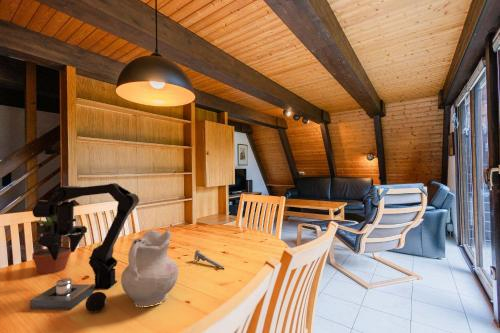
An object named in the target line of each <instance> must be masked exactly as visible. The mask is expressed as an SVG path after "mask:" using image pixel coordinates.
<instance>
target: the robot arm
mask: <svg viewBox="0 0 500 333" xmlns="http://www.w3.org/2000/svg"><path fill="white" fill-rule="evenodd" d="M101 194H102V195H104V194H109V195H110V196H111V197H112V199H114V201H116V202H117V206H116V214H115V217H114V219H113V221H112V223H111V225H110V227H109V229H108V231H107V233H106V234H105V237H104V239H103V241H102V243H101V244H99V245H98V246H97V247H94V248H93V250H92V251H91V255H90V256H89V257H88V260H89V262H88V264H89V266H90V267H91V269H92V272H93V274H94V289H98V290H100V289H103V290H104V289H105V290H108V289H110V288H112V287H113V286H114V285H116V283H117V282H118V280H116V268H115V267H116V266H117V264H118V262H119V261H118V260H117V259H116V258H115V257H114V256H113V253H114V246H115V244H116V243H117V240H118V238H119V236H120V233H121V232H122V229H123V227H124V225H125V223H126V222H127V219H128V218H129V215H130V214H132V212H133V211H134V210H135V209H136V207H137V205H139V202H140V197H139V196H138V195H137V194H136V193H132V192H130V191H129V190H127V189H126V188H123V187H122V186H121V185H120V184H118V183H115V182H114V183H108V184H97V185H89V186H80V185H79V186H78V185H77V186H76V185H66V186H65V185H64V186H58V187H55V189H54V191H53V194H52V195H51V196H50V197H49V199H48V200H44V199H42V200H37V201H36V204H35V205H34V207H33V209H32V216H33V217H34V218H45V217H54V216H55V215H56V220H54V221H53V222H52V225H50V226H46V225H42V224H40V225H38V226H37V234H39V235H41V236H40V237H38V238H37V244H41V245H42V246H41V247H44V246H45V247H46V248H48V250H49V252H50V254H51V256H52V258H53V260H57V257H58V254H59V250H60V247H61V246H62V244H63V243H62V239H64V238H65V237H68V239H70V240H69V244H70V246H69V247H71V253H75V251H76V249H77V248H78V245H79V244H80V242H81V240H82V239H83V238H84V237H83V236H85V234H86V233H88V228H87V226H85V225H74V222H76V221H77V218H74V209H75V208H74V207H77V206H80V205H81V204H80V203H79V202H78V201H76V199H77V198H81V197H83V196H84V197H85V196H93V195H94V196H95V195H101Z"/></svg>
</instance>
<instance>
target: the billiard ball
mask: <svg viewBox="0 0 500 333" xmlns="http://www.w3.org/2000/svg"><path fill="white" fill-rule="evenodd" d="M107 301H108V299H107V295H106V294H105V292H102V291H96V292H93V293H92V294H91V295H90V296H88V297H87V298H86V300H85V308H86V311H88V312H90V313H97V312H100V311H101V310H103V309H104V307H105V306H106V304H107Z"/></svg>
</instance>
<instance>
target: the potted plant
mask: <svg viewBox="0 0 500 333" xmlns="http://www.w3.org/2000/svg"><path fill="white" fill-rule="evenodd" d="M44 218H45V220H38V221H37V220H36V222H37V223H39V224H40V225H46V226H50V225H52V222H53V221H54V220H56V215H55V216H54V217H44ZM61 242H62V243H61V244H63V243H66V242H70V238H68V239H65V240H63V241H62V240H61ZM35 245H37V246H41V247H45V246H42V245H41V244H38V243H35ZM70 254H72V252H71V247H70V246H64V245H63V246H62V245H61V247H60V250H59V254H58V257H57V260H53V258H52V256H51V254H50V252H49V250H48V248H47V247H46V248H42V249H38V250H37V251H34V252H33V253H32V254H31V255H32V259H31V260H33V261H34V265H35V268H36V270H37V273H38V275H51V274H56V273H59V272H61V271H64V270H65V269H66V267H67V264H68V261H69V258H70Z"/></svg>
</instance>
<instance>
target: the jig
mask: <svg viewBox="0 0 500 333" xmlns="http://www.w3.org/2000/svg"><path fill="white" fill-rule="evenodd" d="M94 286H95V283H90V284H82V283H81V284H80V283H79V284H75V283H73V284H71V293H70V294H68V295H67V296H56V285H54V286H52V287H51V288H48V289H47V290H45V291H44V292H41V293H40V294H38V295H36V296H35V297H33V298H31V299H29V310H49V311H50V310H53V311H71V310H72V309H73V308H75V307H76V306H78V305H79V304H80V303H81V302H83V301H85V299H86V300H87V298H88V297H89V296H90V295H91V294H93V293H94Z"/></svg>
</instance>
